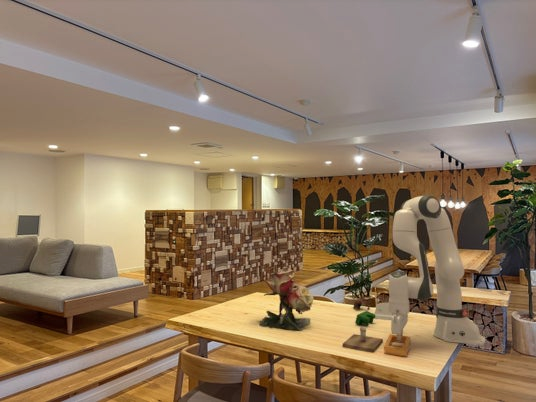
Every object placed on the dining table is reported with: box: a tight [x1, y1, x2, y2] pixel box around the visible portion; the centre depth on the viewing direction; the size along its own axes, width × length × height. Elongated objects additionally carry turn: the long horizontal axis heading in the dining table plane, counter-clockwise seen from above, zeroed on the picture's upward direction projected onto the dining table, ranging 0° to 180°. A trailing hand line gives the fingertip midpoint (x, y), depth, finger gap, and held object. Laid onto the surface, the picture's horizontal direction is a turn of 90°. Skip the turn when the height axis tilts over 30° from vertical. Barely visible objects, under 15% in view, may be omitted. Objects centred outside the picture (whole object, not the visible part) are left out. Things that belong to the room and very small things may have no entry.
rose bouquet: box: [259, 266, 315, 331], centre depth 216 cm, size 26×29×30 cm
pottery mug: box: [352, 296, 371, 311], centre depth 246 cm, size 12×10×8 cm
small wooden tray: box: [383, 333, 412, 357], centre depth 173 cm, size 9×13×3 cm
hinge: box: [373, 302, 392, 321], centre depth 225 cm, size 17×5×10 cm, turn 66°
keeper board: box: [342, 325, 384, 354], centre depth 181 cm, size 14×16×8 cm
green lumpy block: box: [354, 310, 376, 327], centre depth 214 cm, size 12×6×9 cm, turn 133°
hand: (399, 338), depth 178 cm, fingers closed on small wooden tray, 2 cm apart
